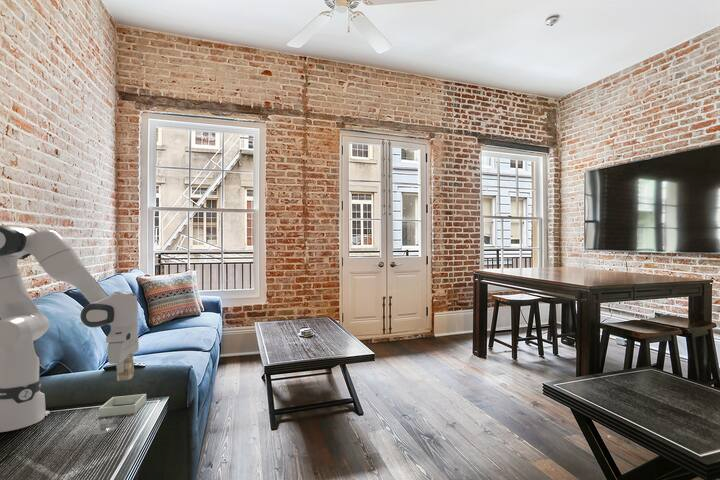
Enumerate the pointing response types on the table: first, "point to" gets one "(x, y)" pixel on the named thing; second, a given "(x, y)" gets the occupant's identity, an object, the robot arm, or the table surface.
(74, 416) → the table surface
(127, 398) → the bin
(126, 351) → the robot arm
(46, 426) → the table surface
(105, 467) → the table surface
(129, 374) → the tan rectangular block
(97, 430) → the grey pot lid
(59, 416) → the table surface
